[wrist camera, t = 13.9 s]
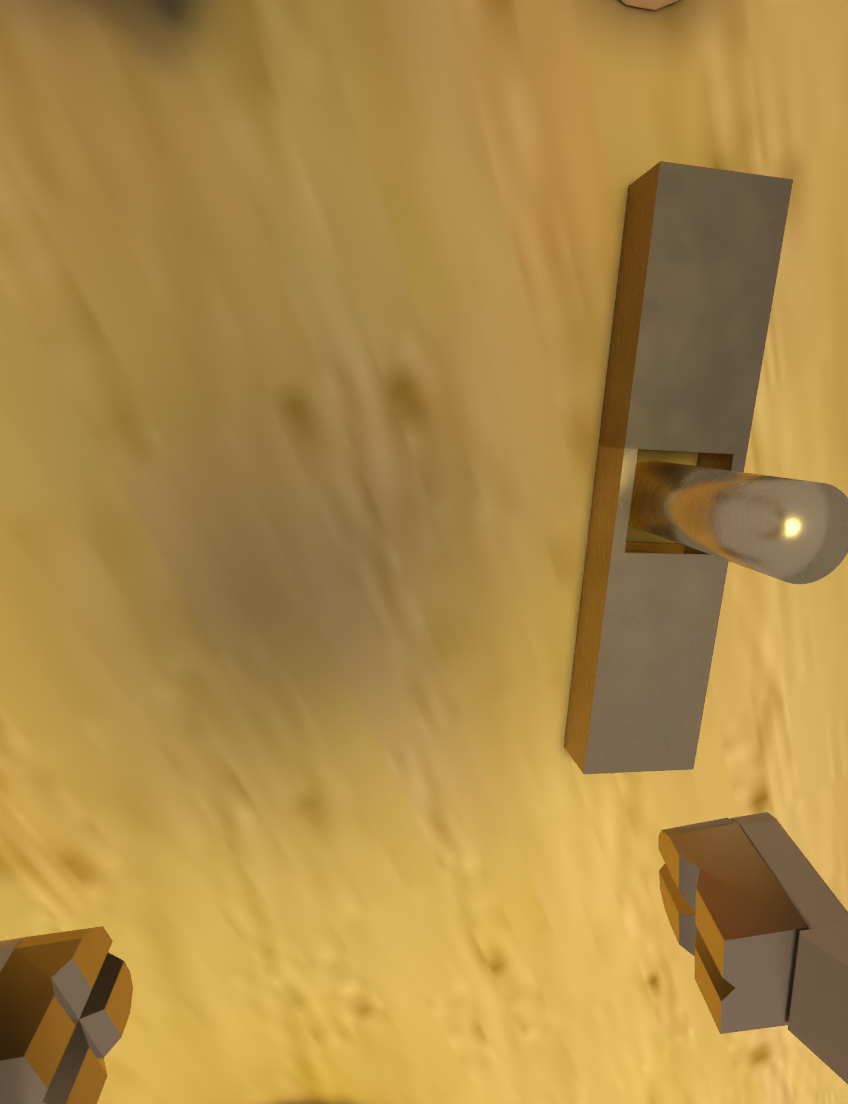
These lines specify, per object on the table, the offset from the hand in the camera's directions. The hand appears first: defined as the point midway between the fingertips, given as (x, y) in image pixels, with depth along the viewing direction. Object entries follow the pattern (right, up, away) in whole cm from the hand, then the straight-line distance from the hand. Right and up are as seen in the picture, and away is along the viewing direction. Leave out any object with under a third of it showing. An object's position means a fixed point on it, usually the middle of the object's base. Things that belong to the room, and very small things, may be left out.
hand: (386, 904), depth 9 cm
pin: (+14, +8, +26) cm, 30 cm away
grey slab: (+14, +8, +26) cm, 30 cm away
